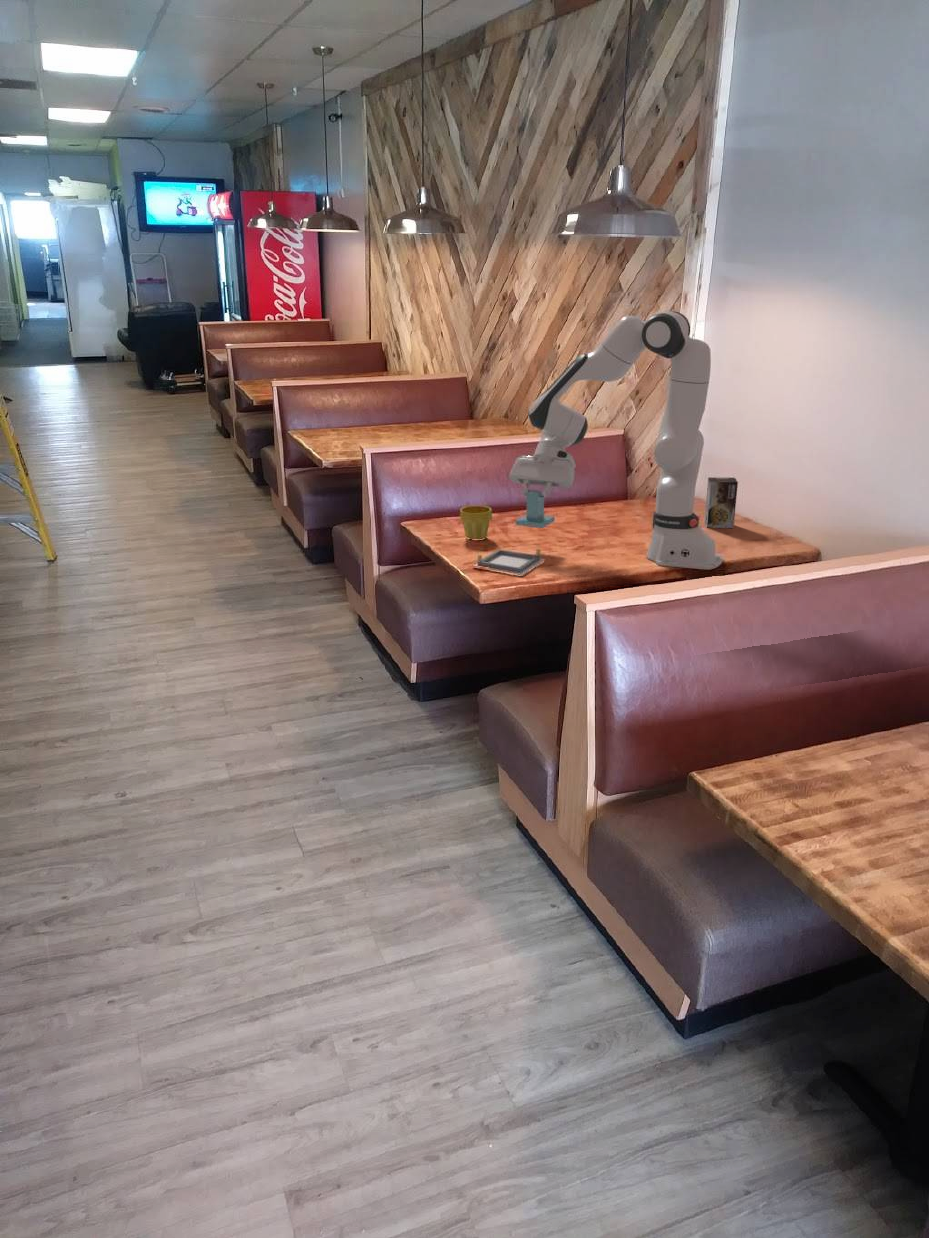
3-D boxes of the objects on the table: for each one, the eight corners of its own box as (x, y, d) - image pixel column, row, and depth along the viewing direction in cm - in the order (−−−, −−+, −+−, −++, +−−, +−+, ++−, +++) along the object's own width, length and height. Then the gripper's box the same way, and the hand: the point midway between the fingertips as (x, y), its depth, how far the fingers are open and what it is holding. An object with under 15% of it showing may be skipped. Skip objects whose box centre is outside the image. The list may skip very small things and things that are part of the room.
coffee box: (730, 523, 312) (735, 477, 306) (733, 528, 306) (738, 481, 300) (703, 522, 313) (707, 476, 307) (706, 528, 307) (710, 481, 301)
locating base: (544, 561, 274) (545, 549, 272) (521, 577, 260) (522, 563, 259) (497, 554, 281) (497, 541, 279) (472, 568, 268) (472, 555, 266)
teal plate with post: (554, 521, 283) (554, 489, 279) (542, 528, 275) (542, 496, 272) (528, 518, 287) (528, 486, 283) (515, 524, 279) (515, 493, 276)
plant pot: (453, 537, 297) (453, 508, 294) (477, 532, 304) (477, 503, 300) (474, 544, 290) (474, 515, 286) (498, 538, 296) (498, 509, 293)
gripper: (514, 449, 284) (500, 486, 279) (575, 454, 274) (562, 493, 270) (520, 461, 289) (507, 497, 285) (580, 466, 280) (567, 504, 275)
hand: (534, 495), depth 277 cm, fingers closed on teal plate with post, 4 cm apart
